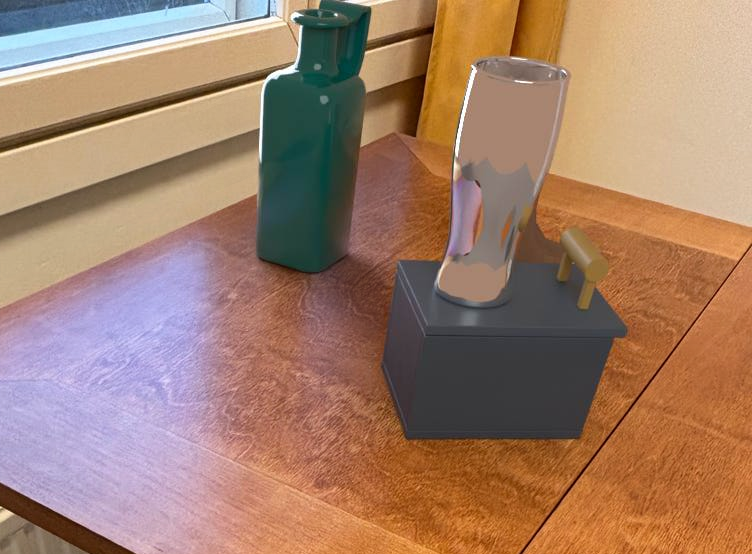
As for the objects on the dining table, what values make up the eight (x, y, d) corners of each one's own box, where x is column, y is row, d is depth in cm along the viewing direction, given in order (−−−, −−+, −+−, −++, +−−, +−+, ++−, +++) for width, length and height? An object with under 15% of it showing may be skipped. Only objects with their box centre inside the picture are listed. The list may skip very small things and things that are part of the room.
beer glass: (472, 319, 66) (524, 87, 55) (409, 283, 70) (446, 60, 59) (535, 298, 69) (597, 76, 58) (471, 265, 73) (518, 50, 62)
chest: (537, 368, 81) (565, 272, 75) (579, 439, 73) (615, 338, 67) (380, 367, 80) (396, 269, 73) (405, 439, 72) (425, 336, 65)
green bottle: (316, 278, 92) (339, 25, 76) (247, 257, 95) (256, 8, 79) (359, 248, 98) (389, 8, 83) (294, 229, 101) (311, -7, 85)
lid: (575, 272, 75) (593, 213, 72) (625, 338, 67) (648, 275, 64) (396, 268, 73) (405, 208, 70) (425, 335, 65) (437, 270, 62)
